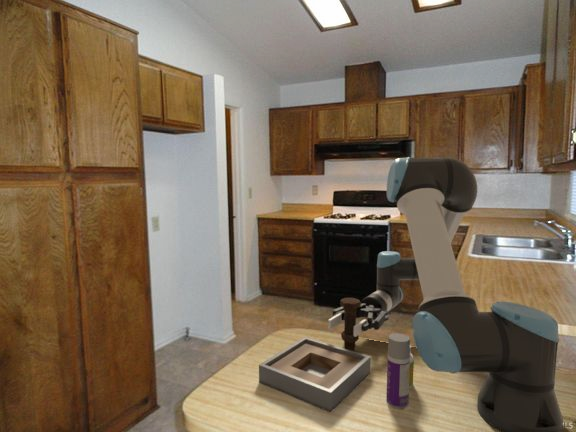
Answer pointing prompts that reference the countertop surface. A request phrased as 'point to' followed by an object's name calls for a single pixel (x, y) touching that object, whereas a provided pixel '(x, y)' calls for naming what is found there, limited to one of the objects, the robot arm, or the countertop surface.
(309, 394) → the open box
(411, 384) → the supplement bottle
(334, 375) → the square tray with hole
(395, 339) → the container
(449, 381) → the countertop surface
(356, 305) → the bolt
